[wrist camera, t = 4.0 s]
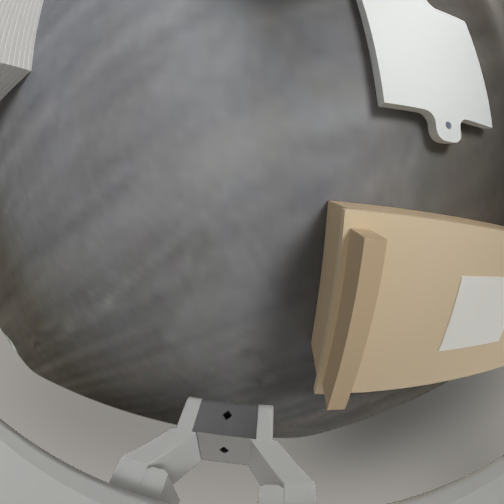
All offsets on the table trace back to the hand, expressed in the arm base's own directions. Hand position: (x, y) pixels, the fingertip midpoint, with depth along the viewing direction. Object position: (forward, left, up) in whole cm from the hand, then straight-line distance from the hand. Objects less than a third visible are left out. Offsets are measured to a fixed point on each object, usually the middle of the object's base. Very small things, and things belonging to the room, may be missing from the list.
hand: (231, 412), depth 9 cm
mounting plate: (-15, -22, -16) cm, 31 cm away
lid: (-16, 0, -9) cm, 18 cm away
